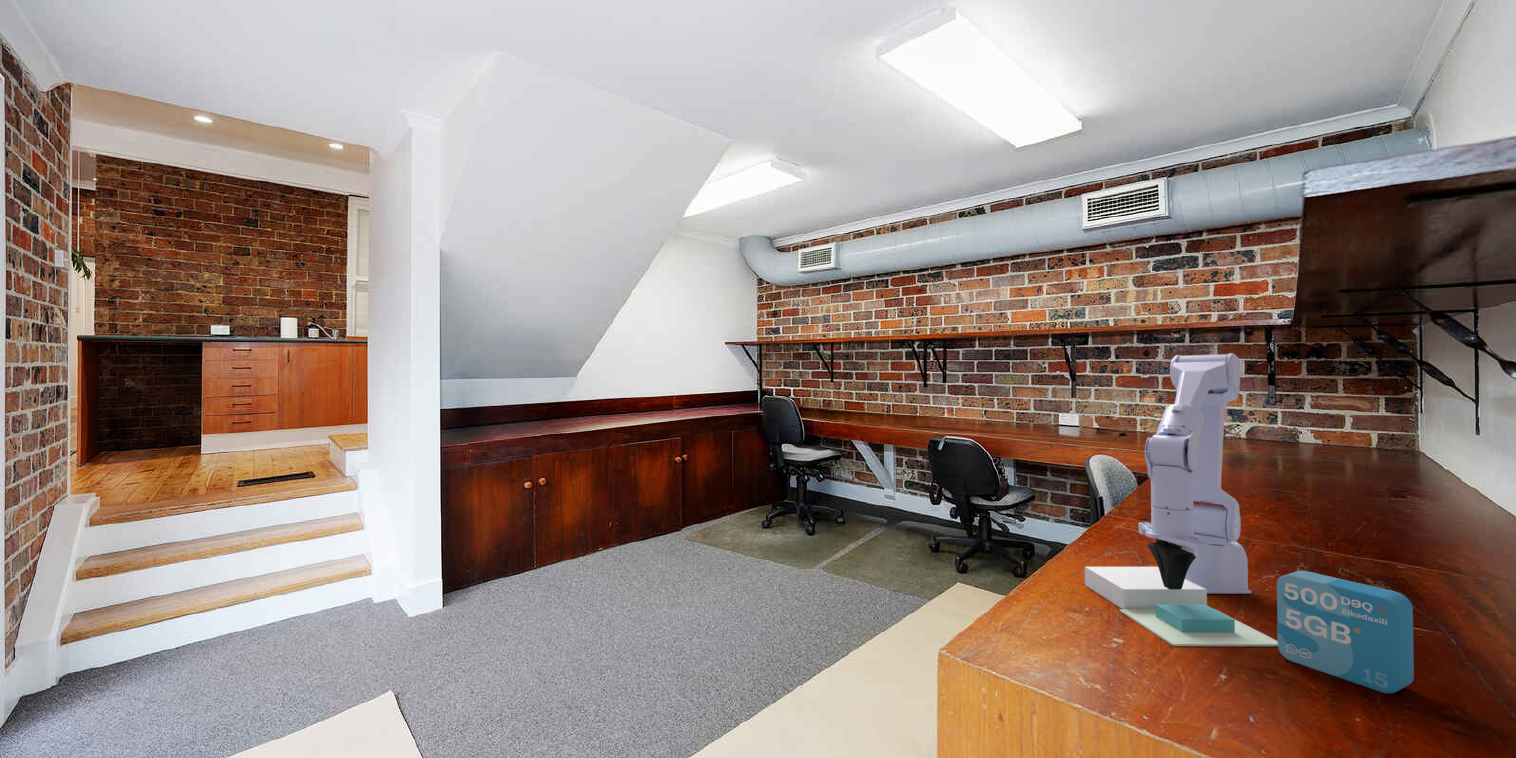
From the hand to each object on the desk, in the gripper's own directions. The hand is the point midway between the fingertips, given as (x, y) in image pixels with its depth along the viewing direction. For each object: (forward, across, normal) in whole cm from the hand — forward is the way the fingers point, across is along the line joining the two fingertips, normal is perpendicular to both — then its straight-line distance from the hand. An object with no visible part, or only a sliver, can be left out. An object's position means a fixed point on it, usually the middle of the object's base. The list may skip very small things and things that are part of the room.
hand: (1172, 588), depth 96 cm
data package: (+5, +19, +9) cm, 22 cm away
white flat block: (+4, -8, 0) cm, 9 cm away
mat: (+4, +5, 0) cm, 7 cm away
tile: (+2, +5, 0) cm, 5 cm away
